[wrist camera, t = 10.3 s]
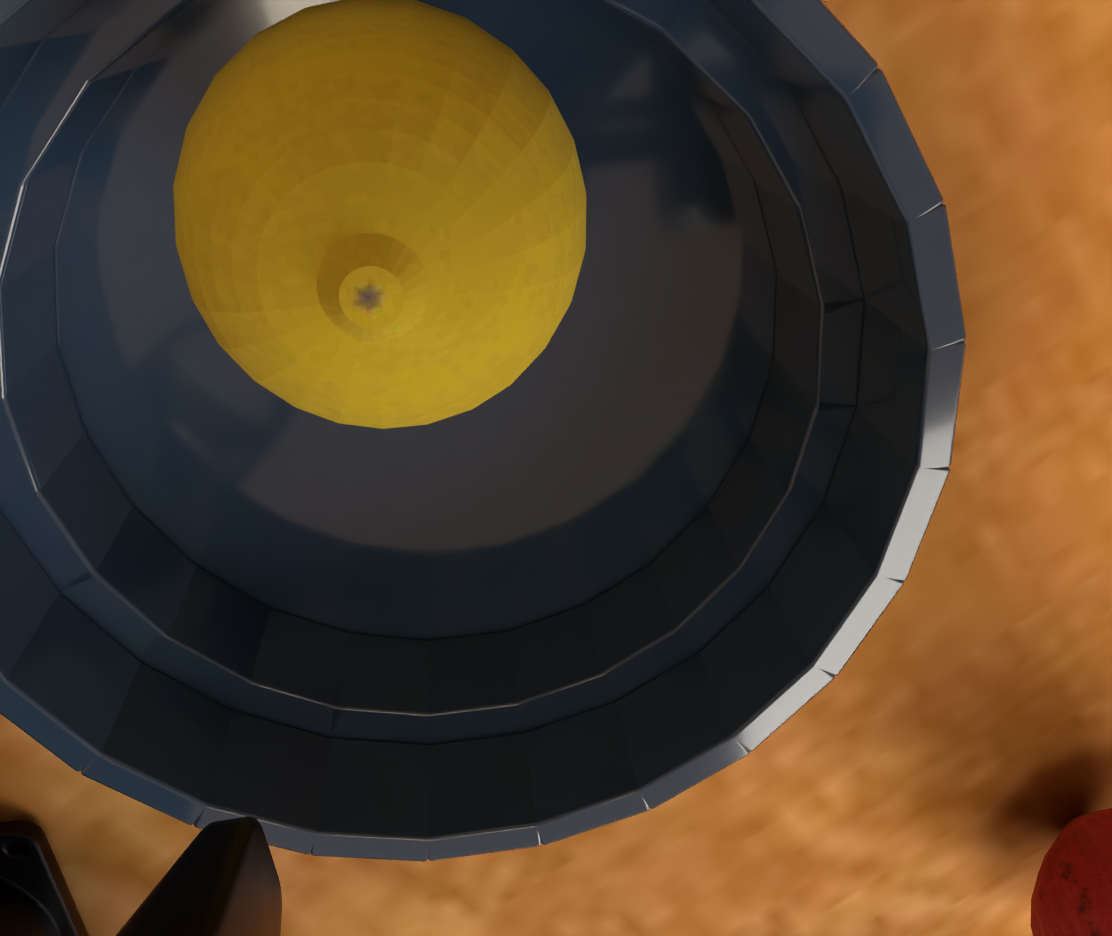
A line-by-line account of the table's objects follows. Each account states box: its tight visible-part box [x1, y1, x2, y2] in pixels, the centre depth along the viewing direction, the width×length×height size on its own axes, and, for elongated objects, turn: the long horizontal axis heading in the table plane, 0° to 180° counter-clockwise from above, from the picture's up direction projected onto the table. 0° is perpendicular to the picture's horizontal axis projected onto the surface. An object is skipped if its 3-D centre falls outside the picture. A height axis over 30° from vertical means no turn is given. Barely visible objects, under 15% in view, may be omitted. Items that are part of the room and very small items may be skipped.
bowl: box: [0, 0, 966, 861], centre depth 17 cm, size 16×16×6 cm
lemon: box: [173, 0, 586, 429], centre depth 14 cm, size 6×6×8 cm
